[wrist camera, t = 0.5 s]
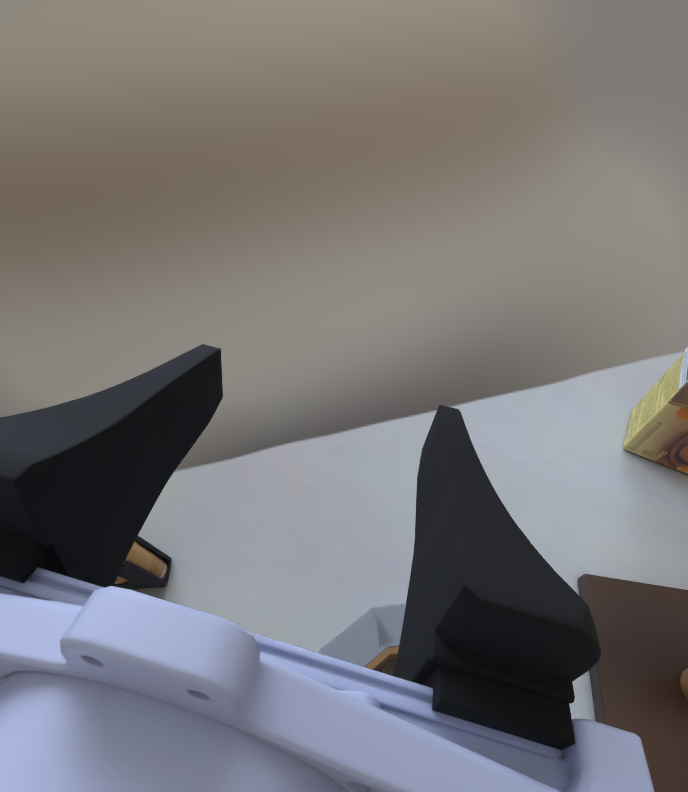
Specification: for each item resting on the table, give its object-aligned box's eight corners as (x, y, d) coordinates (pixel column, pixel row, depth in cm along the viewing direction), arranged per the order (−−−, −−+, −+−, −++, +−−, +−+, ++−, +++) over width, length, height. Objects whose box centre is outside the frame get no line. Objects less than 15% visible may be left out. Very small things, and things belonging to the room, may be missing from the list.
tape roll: (563, 979, 18) (611, 1048, 14) (268, 894, 20) (245, 936, 16) (538, 634, 25) (565, 623, 22) (324, 596, 27) (317, 579, 23)
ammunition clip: (172, 557, 29) (70, 482, 19) (167, 586, 28) (56, 523, 18) (16, 567, 29) (-164, 498, 19) (4, 597, 28) (-192, 539, 18)
